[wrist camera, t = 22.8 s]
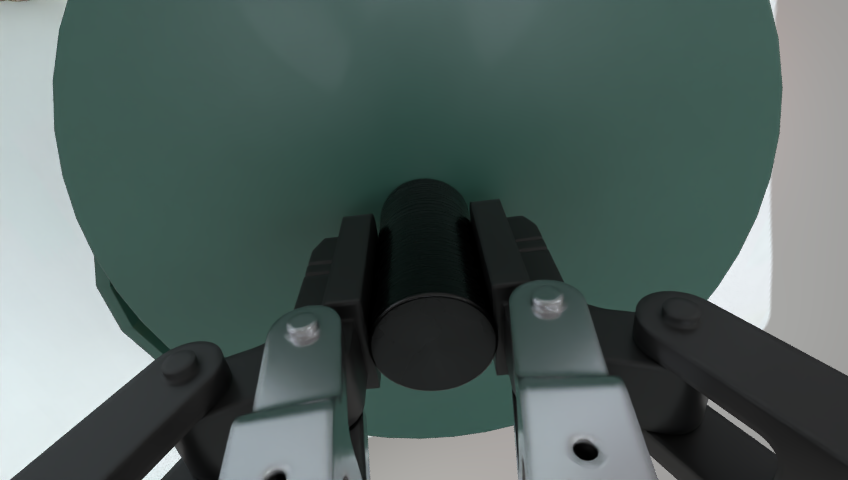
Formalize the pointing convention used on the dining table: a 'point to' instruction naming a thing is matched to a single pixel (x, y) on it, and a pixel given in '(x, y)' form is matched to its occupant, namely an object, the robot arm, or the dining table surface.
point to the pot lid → (411, 163)
